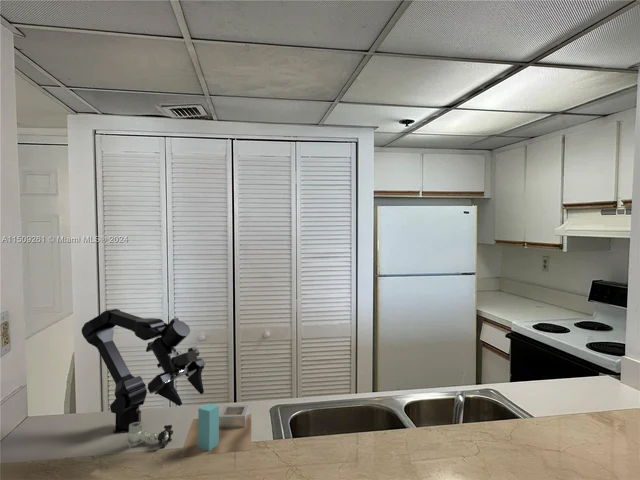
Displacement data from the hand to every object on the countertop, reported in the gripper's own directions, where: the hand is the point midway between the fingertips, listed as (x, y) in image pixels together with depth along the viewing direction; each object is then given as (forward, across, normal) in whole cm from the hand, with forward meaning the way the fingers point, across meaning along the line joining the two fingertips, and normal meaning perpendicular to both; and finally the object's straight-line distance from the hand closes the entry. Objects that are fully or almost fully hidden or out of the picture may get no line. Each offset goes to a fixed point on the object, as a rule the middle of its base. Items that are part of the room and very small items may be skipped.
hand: (192, 399), depth 109 cm
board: (+13, +6, +4) cm, 15 cm away
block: (+14, -1, +2) cm, 14 cm away
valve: (+4, -6, +17) cm, 18 cm away
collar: (+12, +14, +4) cm, 19 cm away
